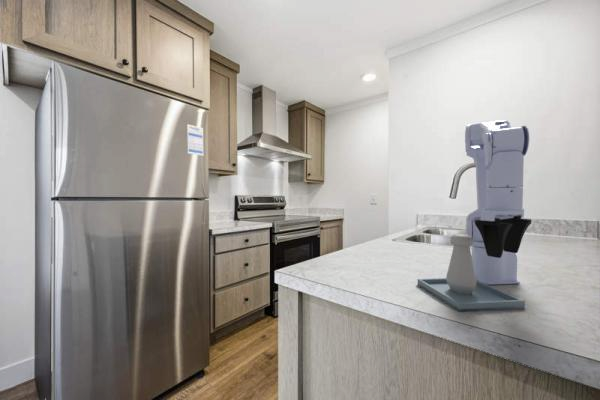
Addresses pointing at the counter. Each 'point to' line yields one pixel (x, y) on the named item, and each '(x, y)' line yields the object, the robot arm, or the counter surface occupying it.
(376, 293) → the counter surface
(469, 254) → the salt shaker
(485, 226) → the robot arm
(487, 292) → the tray
